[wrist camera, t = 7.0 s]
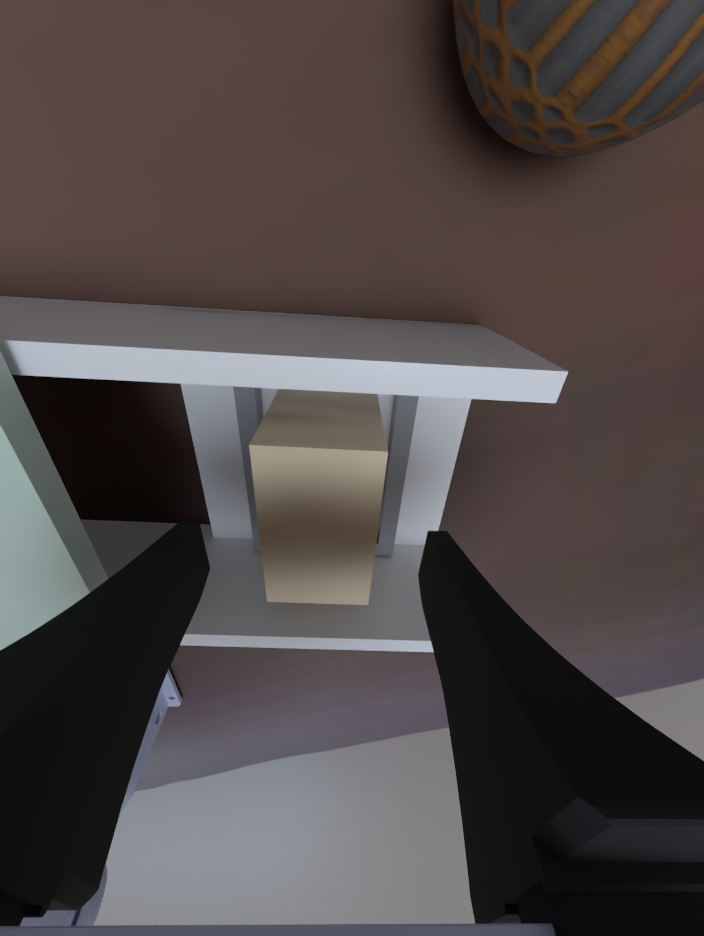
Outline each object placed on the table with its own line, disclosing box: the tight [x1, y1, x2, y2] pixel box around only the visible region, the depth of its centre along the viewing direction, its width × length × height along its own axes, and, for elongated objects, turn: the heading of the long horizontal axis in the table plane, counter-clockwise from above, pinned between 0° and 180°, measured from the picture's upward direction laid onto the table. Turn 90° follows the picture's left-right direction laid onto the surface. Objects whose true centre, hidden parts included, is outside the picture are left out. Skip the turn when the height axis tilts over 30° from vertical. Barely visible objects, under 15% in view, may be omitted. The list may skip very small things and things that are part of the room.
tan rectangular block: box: [249, 389, 388, 605], centre depth 14 cm, size 7×4×5 cm, turn 177°
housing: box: [0, 296, 568, 652], centre depth 14 cm, size 12×26×6 cm, turn 87°
